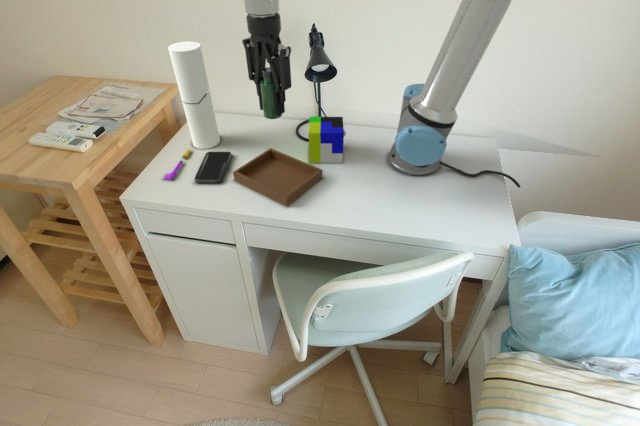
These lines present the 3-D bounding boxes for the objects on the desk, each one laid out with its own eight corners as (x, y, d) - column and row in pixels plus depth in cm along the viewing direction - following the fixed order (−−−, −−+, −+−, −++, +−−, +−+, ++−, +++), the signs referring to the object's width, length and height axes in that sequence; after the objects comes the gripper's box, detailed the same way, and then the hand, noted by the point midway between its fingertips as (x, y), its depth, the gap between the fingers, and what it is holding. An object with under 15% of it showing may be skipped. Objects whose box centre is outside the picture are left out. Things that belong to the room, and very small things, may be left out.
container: (223, 135, 127) (204, 41, 107) (215, 149, 120) (193, 51, 100) (198, 134, 127) (175, 41, 107) (189, 148, 121) (162, 51, 101)
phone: (193, 180, 106) (206, 151, 117) (194, 183, 106) (207, 154, 118) (221, 180, 105) (232, 151, 117) (222, 183, 106) (232, 154, 117)
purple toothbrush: (172, 180, 107) (192, 150, 119) (170, 177, 106) (190, 147, 119) (164, 181, 108) (184, 152, 120) (162, 178, 107) (182, 149, 119)
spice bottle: (285, 114, 100) (282, 68, 92) (273, 120, 98) (269, 74, 90) (272, 109, 103) (267, 64, 95) (260, 115, 100) (254, 70, 92)
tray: (322, 178, 108) (322, 169, 106) (287, 207, 98) (286, 197, 96) (271, 156, 117) (270, 147, 115) (234, 180, 107) (232, 171, 105)
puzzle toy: (342, 162, 114) (343, 133, 107) (309, 162, 114) (308, 133, 107) (341, 145, 121) (342, 116, 115) (310, 145, 122) (309, 116, 115)
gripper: (304, 15, 82) (307, 114, 97) (246, 4, 90) (257, 97, 106) (282, 23, 78) (289, 126, 93) (222, 11, 86) (238, 107, 101)
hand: (272, 110), depth 99 cm, fingers closed on spice bottle, 5 cm apart
